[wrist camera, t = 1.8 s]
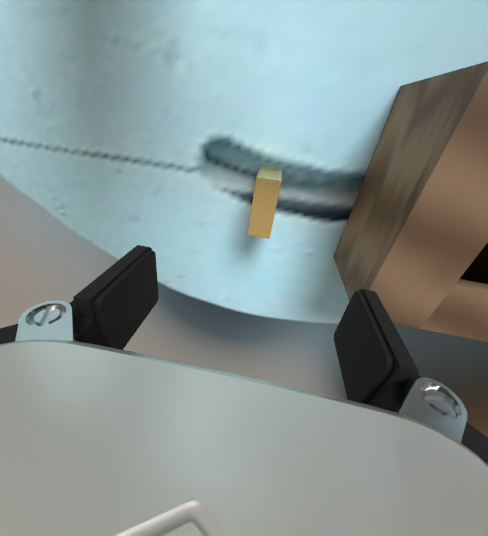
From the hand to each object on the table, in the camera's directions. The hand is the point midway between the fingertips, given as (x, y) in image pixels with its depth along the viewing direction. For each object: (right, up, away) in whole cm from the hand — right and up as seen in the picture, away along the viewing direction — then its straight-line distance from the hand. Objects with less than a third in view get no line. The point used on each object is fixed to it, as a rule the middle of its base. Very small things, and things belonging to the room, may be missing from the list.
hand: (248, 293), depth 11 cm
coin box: (+18, +8, +12) cm, 23 cm away
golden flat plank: (+2, +9, +14) cm, 17 cm away
